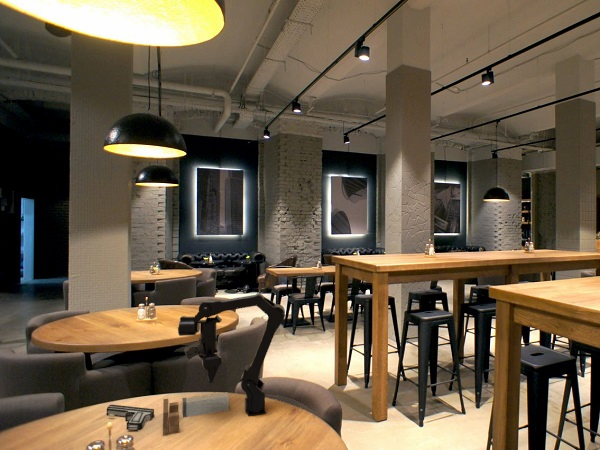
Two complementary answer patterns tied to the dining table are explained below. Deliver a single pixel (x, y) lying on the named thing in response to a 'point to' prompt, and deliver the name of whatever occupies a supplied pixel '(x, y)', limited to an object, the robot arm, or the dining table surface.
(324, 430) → the dining table surface
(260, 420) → the dining table surface
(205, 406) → the rail
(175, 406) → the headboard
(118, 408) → the handgun
